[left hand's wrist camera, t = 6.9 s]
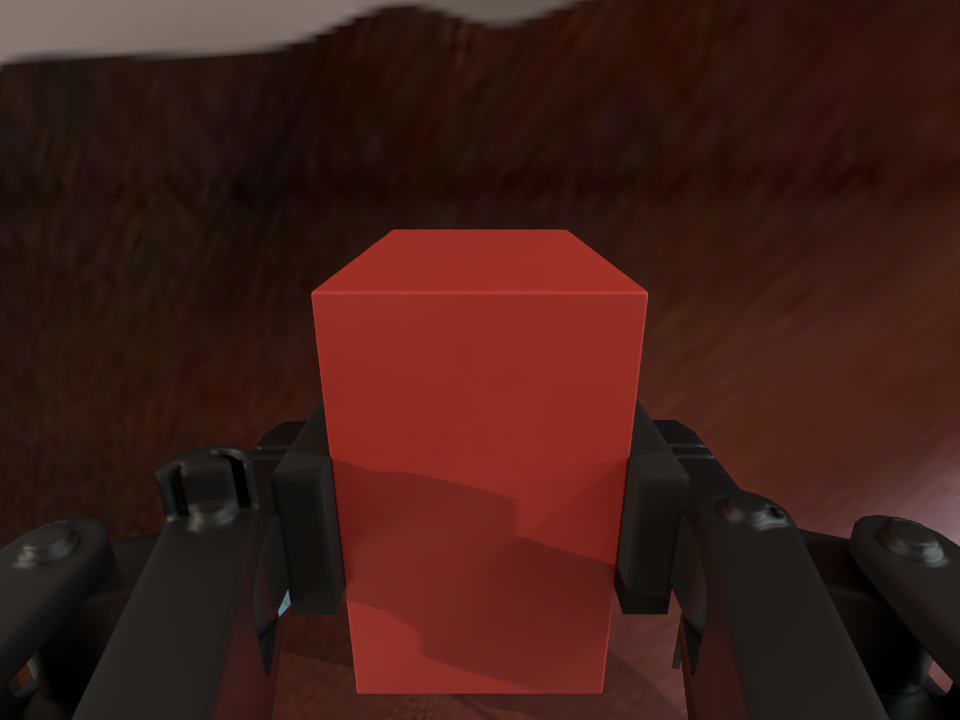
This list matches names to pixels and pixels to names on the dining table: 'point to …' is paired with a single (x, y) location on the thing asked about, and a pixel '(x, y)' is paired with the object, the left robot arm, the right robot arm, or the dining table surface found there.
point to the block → (479, 456)
